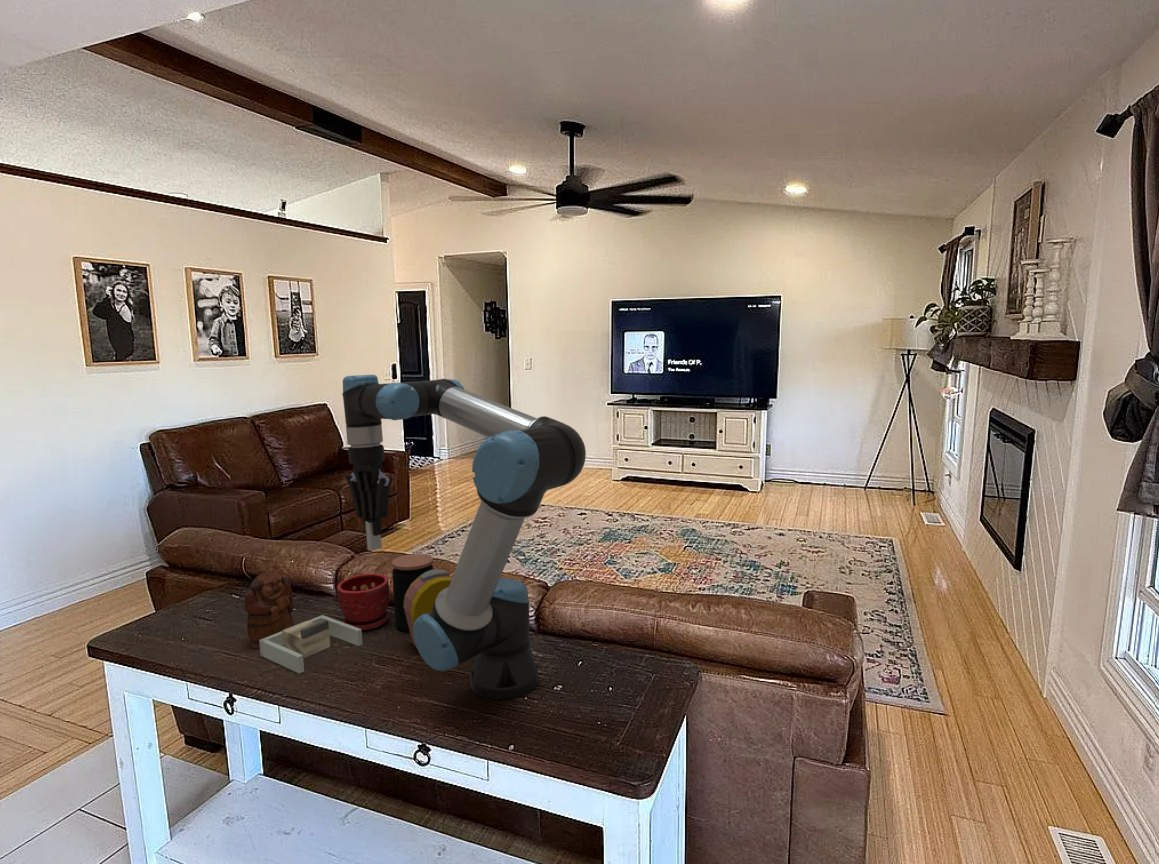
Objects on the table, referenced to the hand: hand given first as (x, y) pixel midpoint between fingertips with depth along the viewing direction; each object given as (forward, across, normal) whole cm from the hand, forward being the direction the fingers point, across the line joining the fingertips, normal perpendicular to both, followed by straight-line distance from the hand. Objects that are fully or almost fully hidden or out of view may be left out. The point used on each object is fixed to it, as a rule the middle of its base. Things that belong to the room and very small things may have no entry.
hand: (374, 548), depth 148 cm
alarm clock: (+29, +1, -18) cm, 34 cm away
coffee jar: (+29, +14, -22) cm, 39 cm away
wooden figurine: (+28, +38, +4) cm, 47 cm away
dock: (+28, +24, +2) cm, 37 cm away
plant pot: (+28, +26, -15) cm, 41 cm away
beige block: (+29, +27, +2) cm, 39 cm away
